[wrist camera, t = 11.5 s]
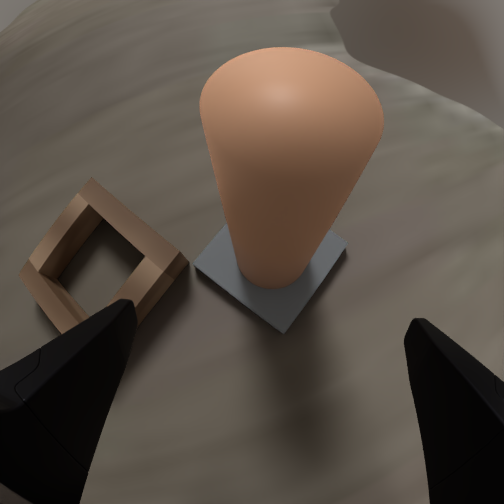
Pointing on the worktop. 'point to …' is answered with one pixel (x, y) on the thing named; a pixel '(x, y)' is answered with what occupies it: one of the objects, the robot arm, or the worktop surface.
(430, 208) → the worktop surface
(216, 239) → the slate rubber pad
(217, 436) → the worktop surface
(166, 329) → the worktop surface
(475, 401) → the robot arm
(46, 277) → the walnut socket block
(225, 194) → the peach rounded cylinder
